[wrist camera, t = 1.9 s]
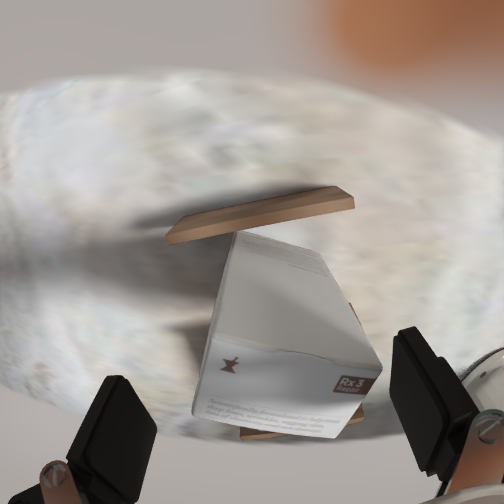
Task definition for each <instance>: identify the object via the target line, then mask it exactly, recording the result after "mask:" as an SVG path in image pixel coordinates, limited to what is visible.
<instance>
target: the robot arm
mask: <svg viewBox="0 0 504 504" xmlns="http://www.w3.org/2000/svg"><path fill="white" fill-rule="evenodd" d="M389 391H390V397H391V400H392V402H393V405H394V407H395V409H396V412H397V414H398V416H399V419H400V421H401V424H402V426H403V428H404V431H405V433H406V436H407V438H408V441H409V443H410V446H411V448H412V451H413V453H414V456H415V458H416V461H417V464H418V467H419V469H420V471H421V472H423V471H426V474H427V476H428V477H430V476H432V475H434V474H437V476H438V478H439V480H440V481H441V483H440V486H439V488H438V490H437V492H436V495H435V497H434V499H432V500H429V501H426V502H423V503H420V504H504V349H503V350H501V351H499V352H497V353H495V354H494V355H492V356H490V357H489V358H487V359H486V360H485V361H484V362H482V363H481V364H480V365H478V366H477V367H476V368H475V369H474V370H473V371H472V372H471V373H470V374H469V375H468V376H467V377H466V378H465V379H464V380H463V381H462V382H461V381H460V380H459V378H458V377H457V375H456V374H455V372H454V371H453V369H452V368H451V366H450V365H449V364H448V362H447V361H446V360H445V358H444V357H437V356H436V355H435V353H434V352H433V350H432V349H431V347H430V346H429V345H428V343H427V342H426V340H425V339H424V337H423V336H422V335H421V333H420V332H419V330H418V329H417V328H416V327H415V326H413V327H410V328H406V329H403V330H400V331H399V332H398V335H397V336H394V339H393V354H392V367H391V379H390V389H389ZM156 433H157V426H156V424H155V422H154V420H153V419H152V417H151V416H150V414H149V413H148V411H147V410H146V408H145V407H144V405H143V404H142V402H141V400H140V399H139V397H138V396H137V394H136V392H135V391H134V389H133V387H132V386H131V384H130V382H129V381H128V380H127V379H125V378H124V377H123V376H122V375H111V376H107V377H106V378H105V379H104V381H103V383H102V385H101V387H100V389H99V391H98V393H97V395H96V397H95V399H94V400H93V402H92V404H91V406H90V408H89V410H88V412H87V414H86V416H85V418H84V420H83V422H82V424H81V426H80V429H79V431H78V433H77V435H76V437H75V439H74V441H73V443H72V445H71V447H70V449H69V452H68V454H67V456H66V459H67V460H68V463H67V464H66V463H65V462H63V461H60V460H56V461H52V462H50V463H48V464H46V466H45V467H44V468H43V469H42V471H41V473H40V477H39V478H40V483H39V484H37V485H35V486H33V487H31V488H29V489H27V490H25V491H23V492H21V493H19V494H17V495H15V496H13V497H12V498H11V499H10V500H9V502H8V504H134V503H135V502H137V501H138V499H139V496H140V492H141V488H142V484H143V480H144V477H145V473H146V469H147V465H148V462H149V458H150V455H151V451H152V447H153V444H154V440H155V436H156Z"/></svg>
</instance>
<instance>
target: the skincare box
mask: <svg viewBox="0 0 504 504" xmlns="http://www.w3.org/2000/svg"><path fill="white" fill-rule="evenodd" d="M381 372H382V364H381V362H380V361H379V359H378V357H377V355H376V353H375V351H374V349H373V348H372V346H371V344H370V342H369V340H368V338H367V336H366V334H365V332H364V331H363V329H362V327H361V325H360V323H359V321H358V320H357V318H356V316H355V314H354V312H353V310H352V309H351V307H350V305H349V303H348V301H347V300H346V298H345V296H344V294H343V293H342V291H341V289H340V287H339V285H338V284H337V282H336V280H335V278H334V277H333V275H332V273H331V272H330V270H329V268H328V266H327V264H326V263H325V261H324V259H323V257H322V256H321V254H320V253H318V252H314V251H310V250H307V249H304V248H300V247H297V246H293V245H290V244H286V243H283V242H279V241H276V240H272V239H269V238H265V237H262V236H258V235H255V234H251V233H248V232H244V231H241V230H240V231H235V232H234V235H233V239H232V242H231V246H230V249H229V253H228V256H227V260H226V263H225V267H224V271H223V275H222V279H221V284H220V287H219V291H218V294H217V298H216V302H215V305H214V310H213V314H212V319H211V324H210V328H209V333H208V337H207V342H206V347H205V351H204V356H203V360H202V364H201V369H200V374H199V380H198V384H197V387H196V391H195V395H194V400H193V404H192V415H193V416H195V417H200V418H204V419H208V420H213V421H217V422H222V423H227V424H232V425H237V426H242V427H247V428H253V429H259V430H266V431H271V432H279V433H286V434H294V435H303V436H313V437H324V438H336V437H337V435H338V434H339V433H340V431H341V430H342V429H343V428H344V426H345V425H346V424H347V422H348V421H349V420H350V418H351V417H352V415H353V414H354V413H355V411H356V410H357V408H358V407H359V405H360V404H361V402H362V401H363V399H364V398H365V396H366V395H367V393H368V391H369V390H370V388H371V387H372V385H373V384H374V382H375V381H376V379H377V378H378V376H379V375H380V373H381Z"/></svg>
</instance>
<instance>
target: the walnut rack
mask: <svg viewBox="0 0 504 504" xmlns="http://www.w3.org/2000/svg"><path fill="white" fill-rule="evenodd" d="M354 208H355V204H354V197H353V196H351V195H350V194H348V193H346V192H345V191H343V190H342V189H340V188H339V187H337V186H334V187H328V188H322V189H317V190H311V191H306V192H300V193H295V194H290V195H285V196H280V197H274V198H269V199H264V200H259V201H255V202H250V203H245V204H240V205H236V206H231V207H226V208H222V209H217V210H213V211H208V212H204V213H199V214H195V215H190V216H186V217H183V218H182V219H181V220H180V221H179V222H178V223H177V224H176V225H175V226H174V227H173V228H172V229H171V230H170V231H169V232H168V233H167V234H166V235H165V236H166V239H167V242H168V245H173V244H177V243H182V242H187V241H191V240H196V239H201V238H206V237H210V236H215V235H220V234H225V233H230V232H235V231H240V230H245V229H250V228H254V227H259V226H265V225H270V224H275V223H280V222H285V221H290V220H295V219H300V218H306V217H311V216H316V215H322V214H327V213H332V212H338V211H343V210H349V209H354ZM349 305H350V307H351V309H352V310H353V312H354V309H353V307H352V305H351V303H349ZM354 314H355V312H354ZM355 316H356V314H355ZM356 318H357V316H356ZM357 320H358V318H357ZM358 321H359V320H358ZM359 323H360V322H359ZM360 325H361V324H360ZM361 327H362V326H361ZM362 329H363V328H362ZM363 331H364V330H363ZM362 421H364V414H363V411H362V402H361V404H360V405H359V407H358V408H357V410H356V411H355V413H354V414H353V415H352V417H351V418H350V420H349V421H348V422H347V424H346V425H349V424H354V423H358V422H362ZM288 435H294V434H286V433H279V432H271V431H266V430H264V431H260V430H259V429H253V428H247V427H242V426H240V438H241V440H253V439H263V438H272V437H281V436H288Z"/></svg>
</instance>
